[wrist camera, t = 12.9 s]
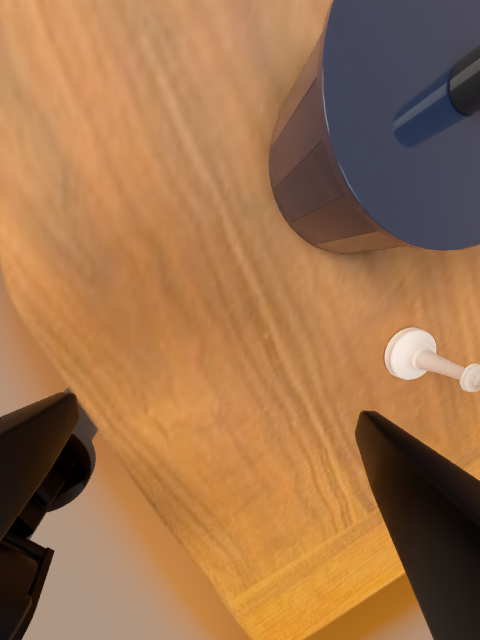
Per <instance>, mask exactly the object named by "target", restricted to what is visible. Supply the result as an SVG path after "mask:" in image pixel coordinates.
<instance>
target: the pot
mask: <svg viewBox="0 0 480 640" xmlns="http://www.w3.org/2000/svg"><path fill="white" fill-rule="evenodd" d="M321 36H322V34H321ZM321 36H320V38H319V40H318V42H317V44H316V46H315V47H314V49H313V51H312V53H311V55H310V57H309V58H308V60H307V62H306V64H305V66H304V68H303V69H302V71H301V73H300V75H299V77H298V79H297V81H296V82H295V84H294V86H293V88H292V90H291V92H290V93H289V95H288V97H287V99H286V101H285V103H284V105H283V106H282V108H281V110H280V112H279V116H278V120H277V122H276V125H275V128H274V131H273V135H272V140H271V145H270V154H269V172H270V180H271V186H272V189H273V193H274V197H275V199H276V202H277V204H278V207H279V209H280V211H281V213H282V214H283V216H284V218H285V219H286V221H287V222H288V223H289V225H290V226H291V227H292V229H293V230H294V231H295V232H296V233H297V234H298V235H299V236H301V237H302V238H303V239H304V240H306V241H307V242H309V243H310V244H312V245H314V246H316V247H318V248H321V249H323V250H327V251H331V252H338V253H342V254H345V253H353V252H361V251H370V250H378V249H387V248H395V247H404V245H402V244H400V243H398V242H395V241H393V240H391V239H389V238H388V237H386V236H385V235H383V234H382V233H380V232H379V231H377V230H376V229H375V228H374V227H373V226H372V225H370V224H369V223H368V222H367V221H366V220H365V219H364V218H363V217H362V216H361V215H360V213H359V212H358V211H357V210H356V209H355V208H354V206H353V205H352V204H351V202H350V201H349V199H348V197H347V196H346V194H345V193H344V191H343V190H342V188H341V186H340V184H339V182H338V180H337V178H336V176H335V173H334V171H333V169H332V167H331V164H330V161H329V158H328V155H327V152H326V149H325V145H324V141H323V136H322V132H321V127H320V121H319V112H318V103H317V67H318V57H319V47H320V41H321Z"/></svg>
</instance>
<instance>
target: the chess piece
mask: <svg viewBox="0 0 480 640" xmlns="http://www.w3.org/2000/svg"><path fill="white" fill-rule="evenodd" d="M385 365H386V368H387V369H388V371H389V372H390V373H391V374H392V375H393V376H395V377H398V378H401V379H404V380H412V379H416V378H418V377H420V376H422V375H423V374H425V373H426V372H427V371H431V372H435V373H438V374H442V375H445V376H449V377H452V378H455V379H458V380H460V386H461V388H462V389H463V390H464V391H467V392H476V391H478V390H480V364H471V365H469V366H468V367H466V368H465V367H462V366H460V365H458V364H456V363H454V362H451V361H449V360H447V359H445V358H443V357H441V356H439V355H437V354H436V344H435V341H434V339H433V337H432V336H431V335H430V334H429V333H428V332H426V331H424V330H421V329H419V328H415V327H410V328H406V329H403V330H401V331H399V332H398V333H397V334H395V335H394V336H393V337H392V339H391V340H390V341H389V343H388V345H387V348H386V351H385Z"/></svg>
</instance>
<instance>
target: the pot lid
mask: <svg viewBox="0 0 480 640" xmlns="http://www.w3.org/2000/svg"><path fill="white" fill-rule="evenodd" d="M317 103H318V112H319V121H320V127H321V132H322V136H323V141H324V145H325V149H326V152H327V155H328V158H329V161H330V164H331V167H332V169H333V171H334V173H335V176H336V178H337V180H338V182H339V184H340V186H341V188H342V190H343V191H344V193H345V194H346V196H347V197H348V199H349V201H350V202H351V204H352V205H353V206H354V208H355V209H356V210H357V211H358V212H359V213H360V215H361V216H362V217H363V218H364V219H365V220H366V221H367V222H368V223H369V224H370V225H372V226H373V227H374V228H375V229H376V230H377V231H379V232H380V233H382V234H383V235H385V236H386V237H388V238H389V239H391V240H393V241H395V242H398V243H400V244H402V245H404V246H407V247H410V248H414V249H418V250H423V251H434V252H439V251H453V250H461V249H466V248H470V247H474V246H477V245H479V244H480V0H331V2H330V5H329V8H328V11H327V15H326V18H325V22H324V27H323V32H322V36H321V41H320V47H319V57H318V67H317Z"/></svg>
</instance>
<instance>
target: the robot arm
mask: <svg viewBox="0 0 480 640" xmlns="http://www.w3.org/2000/svg"><path fill="white" fill-rule="evenodd" d="M79 418H80V412H79V407H78V403H77V398H76V395H75V394H73V393H66V392H61V393H57V394H55V395H52V396H50V397H48V398H46V399H43V400H40V401H38V402H35V403H33V404H31V405H28V406H26V407H23V408H21V409H19V410H16V411H14V412H11V413H9V414H7V415H4V416H2V417H0V640H22V638H23V636H24V634H25V632H26V630H27V628H28V626H29V624H30V622H31V620H32V618H33V615H34V612H35V610H36V607H37V604H38V601H39V598H40V594H41V591H42V588H43V585H44V582H45V579H46V576H47V573H48V570H49V567H50V564H51V560H52V557H53V554H54V550H52V549H50V548H44V547H42V546H40V545H38V544H37V543H35V542H33V541H31V540H30V538H31V537H32V535H33V534H34V532H35V530H36V529H37V527H38V525H39V524H40V522H41V520H42V519H43V517H44V515H45V514H46V512H47V511H48V509H49V507H50V506H51V504H52V502H53V501H54V499H55V498H57V497H58V496H60V495H61V494H63V493H65V492H66V491H68V490H69V489H71V488H72V487H74V486H76V485H77V484H79V483H80V482H82V481H83V480H84V479H85V478H86V476H87V474H88V471H87V470H86V469H85V468H84V467H83V466H82V465H81V464H80V463H79V462H78V461H77V460H76V459H75V458H74V457H73V456H72V455H71V454H70V453H69V452H68V450H67V449H66V448H65V447H64V446H65V444H66V442H67V440H68V439H69V437H70V435H71V433H72V432H73V430H74V428H75V427H76V425H77V423H78V421H79ZM355 437H356V441H357V445H358V448H359V451H360V454H361V458H362V461H363V464H364V467H365V470H366V474H367V477H368V480H369V483H370V486H371V489H372V492H373V495H374V497H375V500H376V502H377V505H378V507H379V509H380V512H381V514H382V517H383V519H384V521H385V524H386V526H387V529H388V531H389V533H390V536H391V538H392V541H393V543H394V545H395V548H396V550H397V553H398V555H399V557H400V560H401V562H402V565H403V567H404V569H405V572H406V574H407V576H408V579H409V581H410V584H411V586H412V589H413V591H414V593H415V596H416V598H417V601H418V603H419V605H420V608H421V610H422V613H423V615H424V617H425V620H426V622H427V625H428V627H429V629H430V632H431V634H432V637H433V639H434V640H480V481H479V480H477V479H476V478H475V477H473V476H472V475H470V474H469V473H467V472H466V471H464V470H463V469H461V468H460V467H458V466H457V465H455V464H454V463H452V462H451V461H449V460H448V459H446V458H445V457H443V456H442V455H440V454H439V453H437V452H436V451H434V450H433V449H431V448H430V447H428V446H427V445H425V444H424V443H422V442H421V441H419V440H418V439H416V438H415V437H413V436H412V435H410V434H409V433H407V432H406V431H404V430H403V429H401V428H400V427H398V426H397V425H395V424H394V423H392V422H391V421H389V420H388V419H386V418H385V417H383V416H382V415H380V414H379V413H377V412H375V411H362V412H361V413H360V415H359V419H358V423H357V427H356V431H355ZM79 474H81V475H82V476H80V475H79Z"/></svg>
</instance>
